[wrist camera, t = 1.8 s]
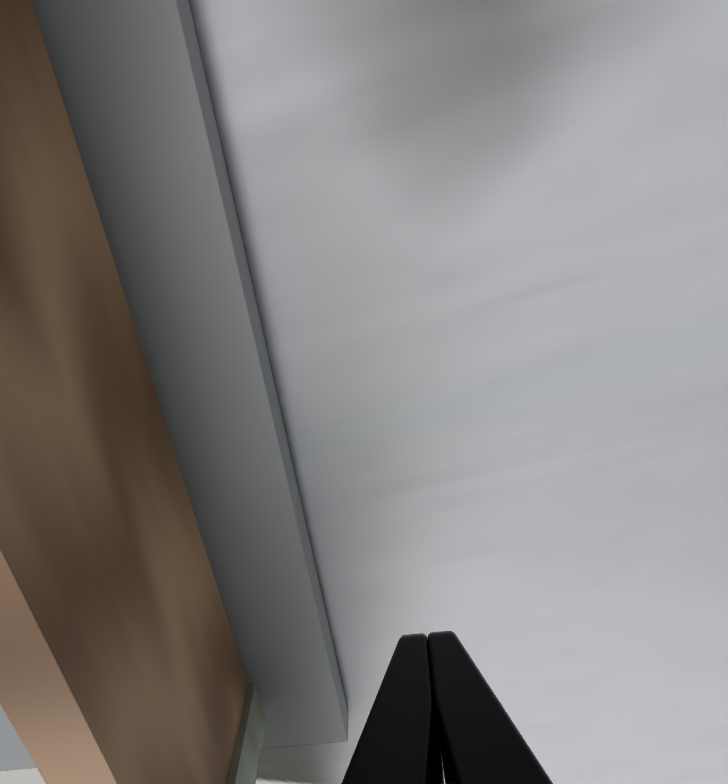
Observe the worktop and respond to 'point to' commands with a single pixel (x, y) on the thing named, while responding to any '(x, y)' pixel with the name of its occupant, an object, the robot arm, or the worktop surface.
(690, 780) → the worktop surface
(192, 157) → the gate frame
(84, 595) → the gate
